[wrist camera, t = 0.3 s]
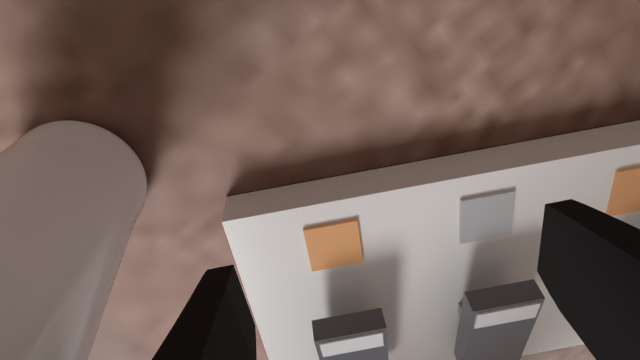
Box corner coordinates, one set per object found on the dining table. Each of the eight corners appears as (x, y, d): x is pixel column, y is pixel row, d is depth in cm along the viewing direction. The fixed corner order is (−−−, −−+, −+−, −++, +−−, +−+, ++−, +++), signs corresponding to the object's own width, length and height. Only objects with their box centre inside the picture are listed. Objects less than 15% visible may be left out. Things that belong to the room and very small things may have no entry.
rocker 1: (385, 365, 24) (390, 385, 23) (327, 375, 24) (330, 396, 23) (381, 307, 19) (387, 330, 19) (311, 320, 19) (314, 343, 19)
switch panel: (646, 302, 27) (678, 334, 25) (282, 370, 27) (282, 409, 25) (710, 106, 20) (762, 128, 18) (226, 196, 20) (220, 229, 18)
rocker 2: (511, 341, 24) (520, 361, 23) (453, 352, 24) (461, 372, 23) (533, 279, 20) (546, 300, 19) (464, 292, 20) (473, 313, 19)
